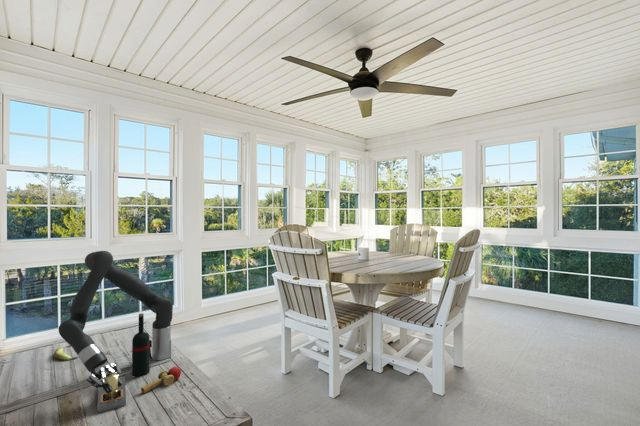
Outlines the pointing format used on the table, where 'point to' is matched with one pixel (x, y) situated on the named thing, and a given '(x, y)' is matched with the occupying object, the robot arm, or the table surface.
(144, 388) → the kendama
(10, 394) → the table surface
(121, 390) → the grey flat frame
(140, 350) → the wine bottle
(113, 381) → the brass peg
